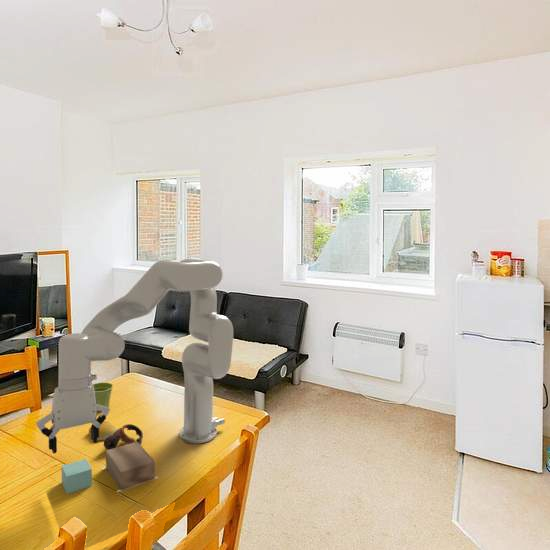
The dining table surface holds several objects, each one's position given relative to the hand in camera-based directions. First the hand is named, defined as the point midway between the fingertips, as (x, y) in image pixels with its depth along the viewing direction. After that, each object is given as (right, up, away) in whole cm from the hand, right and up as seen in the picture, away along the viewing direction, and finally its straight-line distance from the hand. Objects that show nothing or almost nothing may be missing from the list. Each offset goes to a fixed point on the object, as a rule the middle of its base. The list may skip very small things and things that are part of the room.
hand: (74, 445), depth 108 cm
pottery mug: (+4, -10, +22) cm, 24 cm away
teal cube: (0, -12, +2) cm, 12 cm away
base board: (+12, -12, +7) cm, 18 cm away
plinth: (+12, -11, +7) cm, 18 cm away
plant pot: (-15, -7, +50) cm, 52 cm away
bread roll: (-6, -9, +31) cm, 32 cm away
